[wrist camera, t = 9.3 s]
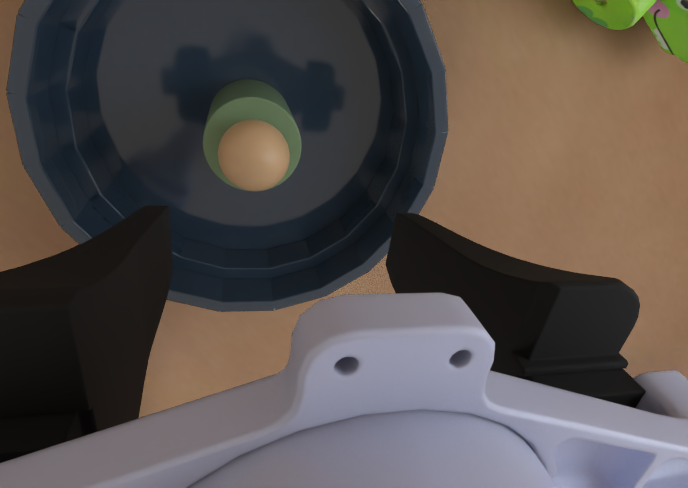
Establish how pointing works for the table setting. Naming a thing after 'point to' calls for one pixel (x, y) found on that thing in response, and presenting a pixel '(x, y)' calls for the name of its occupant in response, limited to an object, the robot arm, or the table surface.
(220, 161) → the green cylinder with ball
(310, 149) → the bowl
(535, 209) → the table surface
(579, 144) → the table surface
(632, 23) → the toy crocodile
